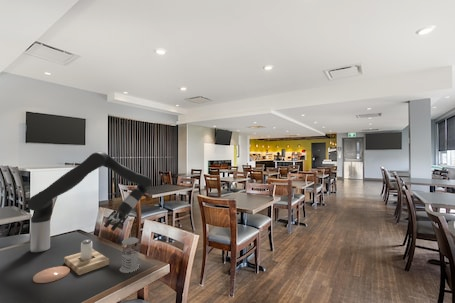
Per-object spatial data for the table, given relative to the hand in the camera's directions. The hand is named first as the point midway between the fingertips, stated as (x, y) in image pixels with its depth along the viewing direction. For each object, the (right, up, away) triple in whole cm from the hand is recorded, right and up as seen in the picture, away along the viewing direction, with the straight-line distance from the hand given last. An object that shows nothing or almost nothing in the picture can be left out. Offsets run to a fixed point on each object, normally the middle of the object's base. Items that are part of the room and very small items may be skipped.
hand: (108, 228), depth 133 cm
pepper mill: (-7, -16, -9) cm, 19 cm away
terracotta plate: (-16, -15, -21) cm, 31 cm away
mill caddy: (-7, -16, -9) cm, 19 cm away
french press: (+17, -16, -13) cm, 26 cm away
